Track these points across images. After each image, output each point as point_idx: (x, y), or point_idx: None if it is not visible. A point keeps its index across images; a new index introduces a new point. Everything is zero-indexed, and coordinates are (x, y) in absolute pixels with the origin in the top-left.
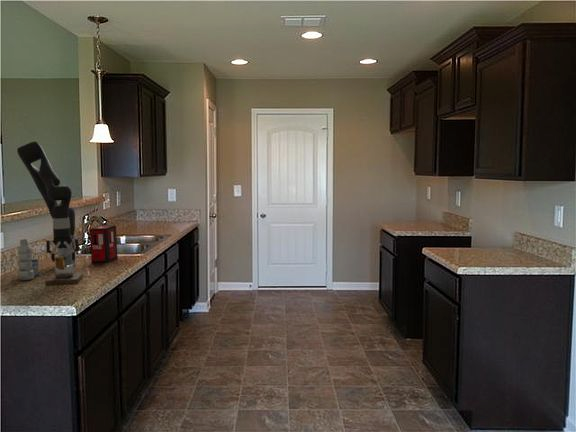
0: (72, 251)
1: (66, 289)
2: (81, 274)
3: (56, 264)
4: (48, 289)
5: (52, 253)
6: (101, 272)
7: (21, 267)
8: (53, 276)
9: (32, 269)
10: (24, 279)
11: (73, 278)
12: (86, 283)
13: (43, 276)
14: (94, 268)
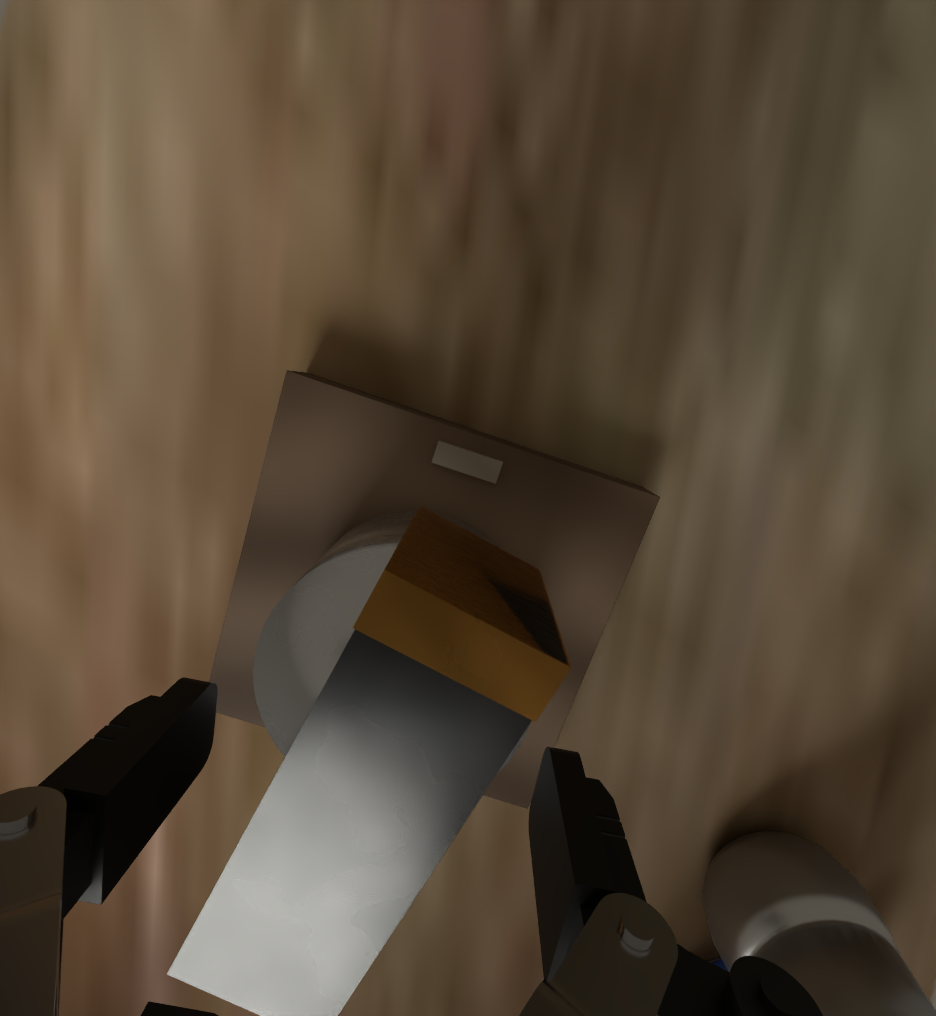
0: (46, 820)
1: (463, 82)
2: (220, 638)
3: (532, 585)
4: (654, 233)
5: (626, 906)
6: None
7: (931, 1006)
8: None
9: None
10: (802, 839)
11: (328, 449)
12: (209, 302)
13: None
14: (94, 1008)
